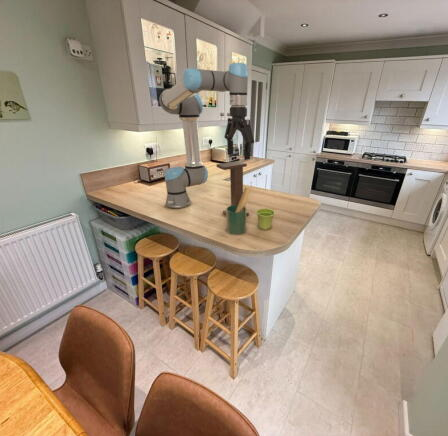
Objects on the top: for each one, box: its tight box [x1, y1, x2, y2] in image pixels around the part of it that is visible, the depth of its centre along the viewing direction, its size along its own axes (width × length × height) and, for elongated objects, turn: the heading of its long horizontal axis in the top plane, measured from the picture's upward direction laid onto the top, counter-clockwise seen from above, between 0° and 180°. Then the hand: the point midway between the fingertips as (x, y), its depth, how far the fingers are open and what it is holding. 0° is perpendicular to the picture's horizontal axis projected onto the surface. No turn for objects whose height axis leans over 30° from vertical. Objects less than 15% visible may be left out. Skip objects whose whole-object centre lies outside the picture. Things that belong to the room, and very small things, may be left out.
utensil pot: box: [226, 204, 247, 235], centre depth 117 cm, size 10×10×12 cm
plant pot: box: [256, 207, 276, 230], centre depth 121 cm, size 9×9×9 cm
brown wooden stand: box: [216, 160, 250, 217], centre depth 129 cm, size 11×14×30 cm
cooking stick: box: [235, 186, 252, 212], centre depth 116 cm, size 2×22×2 cm
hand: (238, 157), depth 109 cm, fingers open, 13 cm apart
